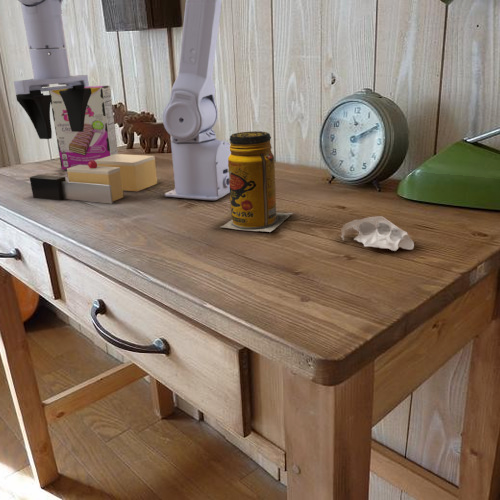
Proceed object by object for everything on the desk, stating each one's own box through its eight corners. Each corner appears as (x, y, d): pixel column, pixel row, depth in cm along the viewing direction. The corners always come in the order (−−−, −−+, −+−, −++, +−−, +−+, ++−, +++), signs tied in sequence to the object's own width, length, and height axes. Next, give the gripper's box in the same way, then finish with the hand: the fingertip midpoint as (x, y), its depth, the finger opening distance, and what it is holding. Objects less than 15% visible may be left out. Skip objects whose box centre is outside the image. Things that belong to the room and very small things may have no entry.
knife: (33, 197, 91) (29, 177, 90) (42, 194, 93) (38, 174, 92) (108, 205, 85) (105, 183, 84) (116, 201, 87) (113, 180, 85)
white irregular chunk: (365, 231, 68) (366, 202, 66) (418, 248, 62) (421, 215, 60) (333, 242, 65) (334, 211, 63) (387, 260, 59) (388, 226, 57)
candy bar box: (60, 170, 112) (46, 88, 106) (70, 165, 116) (57, 86, 111) (112, 169, 110) (101, 86, 105) (120, 164, 115) (110, 84, 109)
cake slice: (123, 197, 89) (119, 159, 87) (112, 201, 87) (106, 163, 84) (83, 193, 93) (78, 157, 90) (71, 197, 90) (65, 161, 88)
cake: (157, 183, 97) (154, 155, 96) (137, 191, 92) (133, 162, 91) (119, 180, 101) (116, 153, 99) (98, 188, 96) (94, 160, 94)
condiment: (219, 228, 72) (213, 137, 67) (246, 210, 79) (242, 127, 74) (270, 233, 69) (267, 138, 64) (293, 215, 76) (292, 128, 72)
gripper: (61, 49, 94) (73, 128, 99) (-8, 51, 82) (10, 141, 87) (93, 47, 91) (104, 128, 96) (27, 49, 79) (43, 142, 84)
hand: (62, 135), depth 91 cm, fingers open, 7 cm apart
